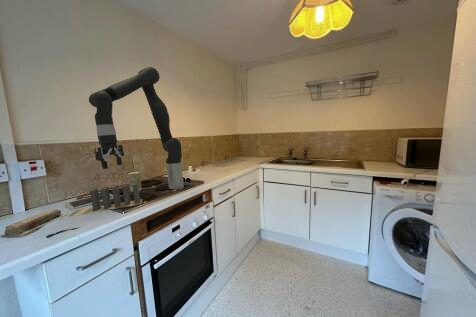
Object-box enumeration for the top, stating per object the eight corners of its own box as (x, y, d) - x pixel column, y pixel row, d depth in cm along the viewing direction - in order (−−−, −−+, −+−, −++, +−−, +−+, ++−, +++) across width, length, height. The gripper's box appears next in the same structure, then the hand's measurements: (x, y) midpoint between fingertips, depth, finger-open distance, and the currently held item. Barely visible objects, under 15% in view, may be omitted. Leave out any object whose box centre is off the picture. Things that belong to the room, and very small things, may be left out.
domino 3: (121, 203, 100) (118, 185, 99) (119, 206, 96) (116, 187, 94) (117, 204, 100) (114, 185, 98) (114, 207, 95) (111, 188, 94)
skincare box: (130, 192, 124) (127, 173, 123) (131, 190, 128) (129, 172, 127) (140, 190, 126) (138, 172, 124) (142, 189, 130) (139, 171, 128)
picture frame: (108, 195, 121) (65, 206, 105) (107, 191, 121) (64, 201, 105) (117, 200, 111) (71, 213, 95) (116, 195, 111) (70, 207, 95)
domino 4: (130, 202, 102) (128, 183, 101) (129, 205, 97) (126, 186, 96) (126, 202, 101) (124, 184, 100) (125, 205, 97) (122, 186, 95)
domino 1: (93, 211, 92) (89, 190, 90) (96, 207, 96) (93, 188, 95) (97, 210, 92) (94, 190, 91) (100, 206, 97) (97, 187, 96)
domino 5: (140, 200, 103) (137, 182, 102) (139, 203, 99) (136, 184, 98) (136, 201, 103) (133, 183, 101) (135, 204, 98) (132, 185, 97)
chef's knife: (105, 218, 86) (101, 217, 87) (105, 216, 86) (101, 214, 87) (49, 240, 69) (45, 238, 71) (48, 237, 69) (45, 235, 71)
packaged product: (20, 226, 72) (-3, 226, 72) (23, 238, 72) (0, 238, 73) (67, 207, 89) (48, 207, 90) (69, 217, 90) (50, 217, 91)
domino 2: (111, 205, 99) (108, 186, 97) (108, 208, 94) (105, 189, 93) (106, 205, 98) (103, 187, 97) (104, 209, 93) (101, 189, 92)
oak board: (142, 201, 105) (142, 199, 105) (141, 205, 98) (141, 203, 98) (75, 212, 95) (75, 209, 94) (68, 218, 87) (68, 216, 87)
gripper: (112, 134, 101) (118, 164, 103) (86, 135, 87) (93, 170, 90) (124, 133, 99) (129, 163, 102) (100, 134, 85) (106, 169, 88)
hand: (112, 166), depth 96 cm, fingers open, 8 cm apart
